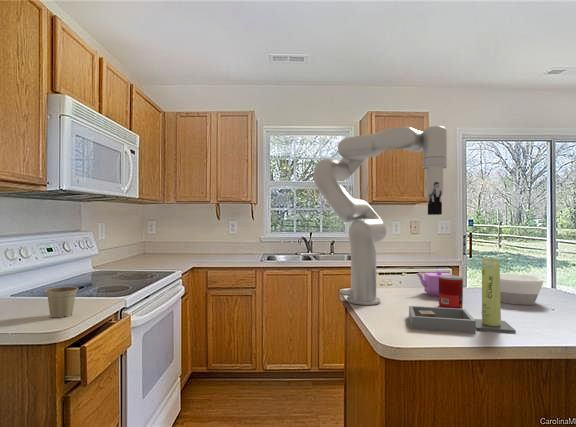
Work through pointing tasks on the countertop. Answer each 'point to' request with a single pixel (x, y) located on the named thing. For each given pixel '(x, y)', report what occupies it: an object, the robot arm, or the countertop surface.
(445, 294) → the canned food
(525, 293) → the bowl
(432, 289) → the teapot
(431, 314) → the walnut block
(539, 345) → the countertop surface
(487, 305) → the tube
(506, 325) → the trivet
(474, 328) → the bin
